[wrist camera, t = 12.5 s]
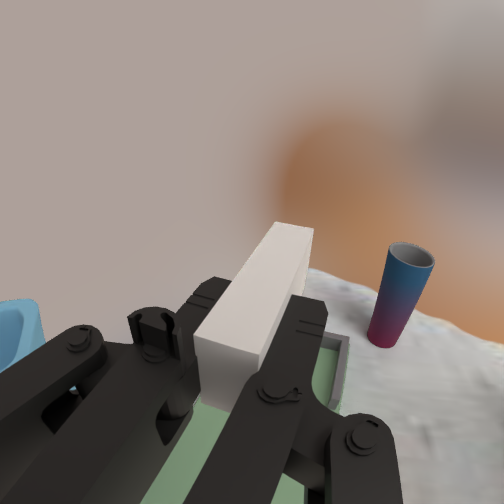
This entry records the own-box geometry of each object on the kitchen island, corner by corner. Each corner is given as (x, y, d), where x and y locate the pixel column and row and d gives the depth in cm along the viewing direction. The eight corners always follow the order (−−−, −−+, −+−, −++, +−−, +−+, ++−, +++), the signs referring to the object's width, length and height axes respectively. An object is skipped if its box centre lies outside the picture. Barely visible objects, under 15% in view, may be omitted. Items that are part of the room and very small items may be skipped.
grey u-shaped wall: (335, 410, 32) (339, 400, 31) (214, 378, 36) (214, 367, 35) (345, 347, 42) (349, 336, 40) (244, 323, 45) (245, 312, 44)
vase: (50, 438, 25) (-38, 306, 16) (109, 434, 28) (41, 295, 18) (54, 497, 19) (-68, 382, 9) (120, 494, 22) (24, 381, 12)
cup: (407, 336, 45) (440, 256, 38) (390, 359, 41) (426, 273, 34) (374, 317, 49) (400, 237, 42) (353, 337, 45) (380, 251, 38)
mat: (286, 586, 14) (289, 586, 14) (124, 528, 18) (120, 526, 18) (347, 349, 43) (349, 343, 42) (243, 324, 47) (244, 318, 46)
